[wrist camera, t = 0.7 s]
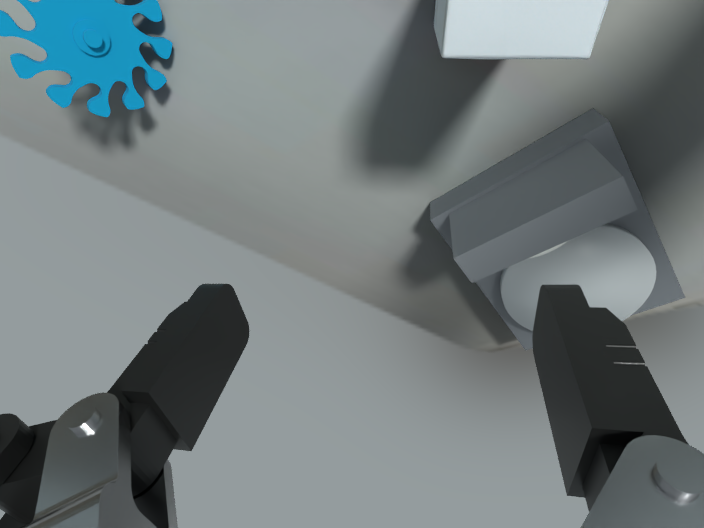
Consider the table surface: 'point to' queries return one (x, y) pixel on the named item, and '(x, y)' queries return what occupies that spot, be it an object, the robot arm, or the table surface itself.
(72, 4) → the gear
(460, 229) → the dial scale
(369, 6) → the table surface
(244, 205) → the table surface
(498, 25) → the skincare box
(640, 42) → the table surface
